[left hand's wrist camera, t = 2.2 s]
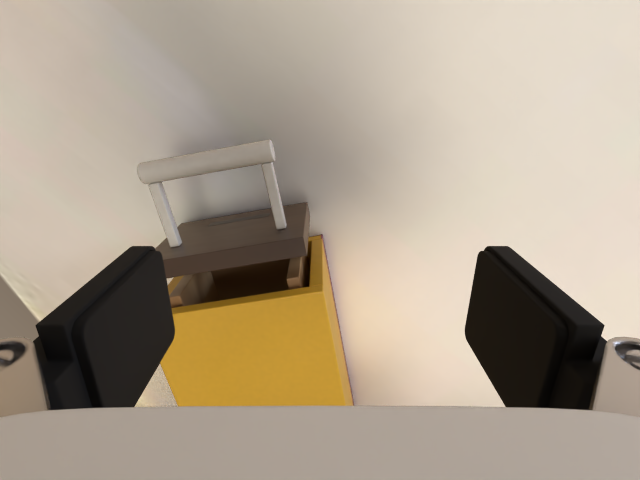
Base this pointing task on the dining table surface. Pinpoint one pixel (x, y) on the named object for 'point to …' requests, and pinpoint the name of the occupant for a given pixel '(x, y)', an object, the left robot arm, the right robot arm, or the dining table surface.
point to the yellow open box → (262, 347)
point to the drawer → (230, 233)
